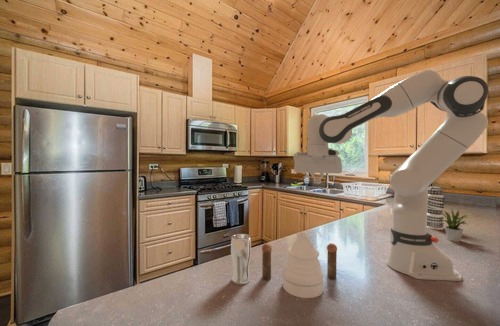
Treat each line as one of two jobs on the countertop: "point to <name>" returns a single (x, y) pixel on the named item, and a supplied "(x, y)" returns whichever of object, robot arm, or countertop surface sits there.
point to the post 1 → (266, 262)
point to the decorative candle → (435, 208)
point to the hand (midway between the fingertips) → (317, 183)
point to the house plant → (454, 226)
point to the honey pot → (303, 269)
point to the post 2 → (331, 261)
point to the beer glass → (241, 258)
